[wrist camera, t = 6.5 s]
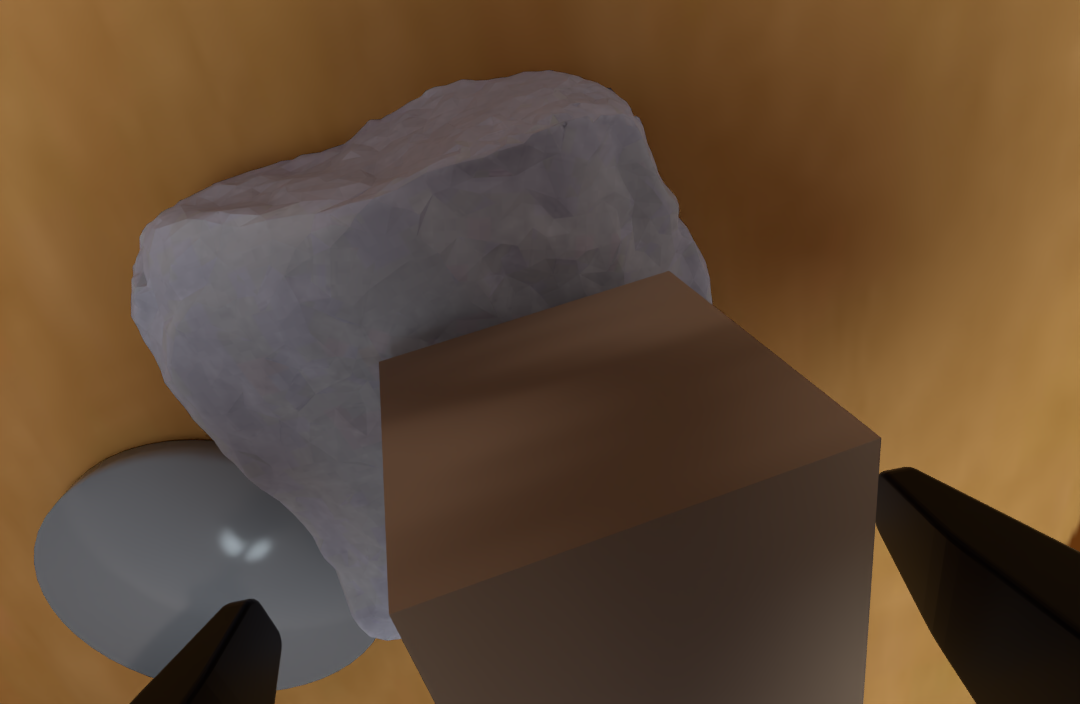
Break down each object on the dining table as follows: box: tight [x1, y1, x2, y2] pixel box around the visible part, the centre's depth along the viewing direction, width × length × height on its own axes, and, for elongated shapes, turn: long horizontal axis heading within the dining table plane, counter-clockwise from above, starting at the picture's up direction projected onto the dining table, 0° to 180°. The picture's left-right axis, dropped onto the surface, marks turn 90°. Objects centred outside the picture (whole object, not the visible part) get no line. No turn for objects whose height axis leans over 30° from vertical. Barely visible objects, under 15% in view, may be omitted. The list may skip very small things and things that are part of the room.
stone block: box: [131, 70, 712, 640], centre depth 14 cm, size 12×5×10 cm
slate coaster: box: [34, 440, 375, 690], centre depth 17 cm, size 9×9×1 cm
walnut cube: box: [379, 271, 881, 704], centre depth 9 cm, size 5×5×5 cm
